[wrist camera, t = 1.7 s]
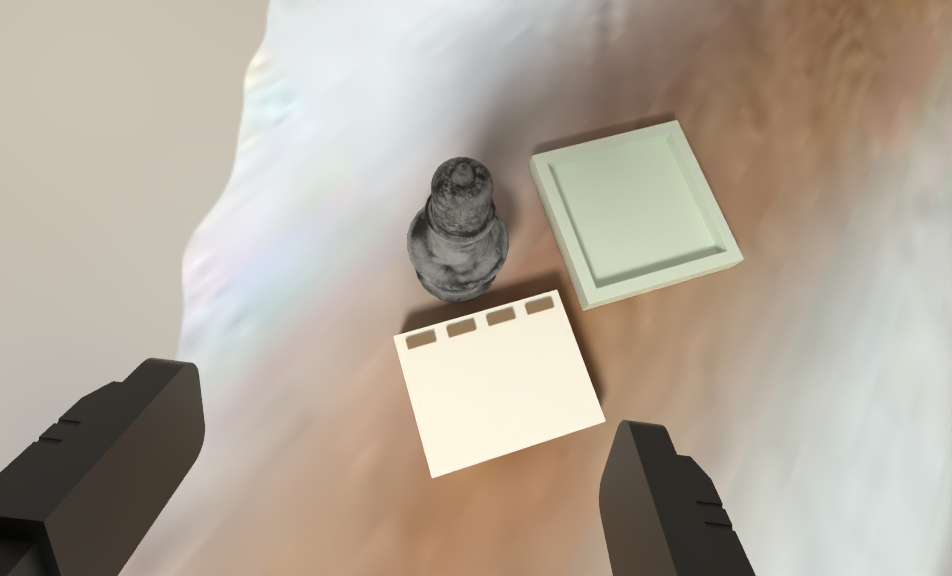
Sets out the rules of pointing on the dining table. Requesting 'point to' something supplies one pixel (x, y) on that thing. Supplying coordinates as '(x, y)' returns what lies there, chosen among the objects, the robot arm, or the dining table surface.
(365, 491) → the dining table surface
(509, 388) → the board
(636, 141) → the tray
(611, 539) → the robot arm
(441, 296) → the grey stone rounded piece
